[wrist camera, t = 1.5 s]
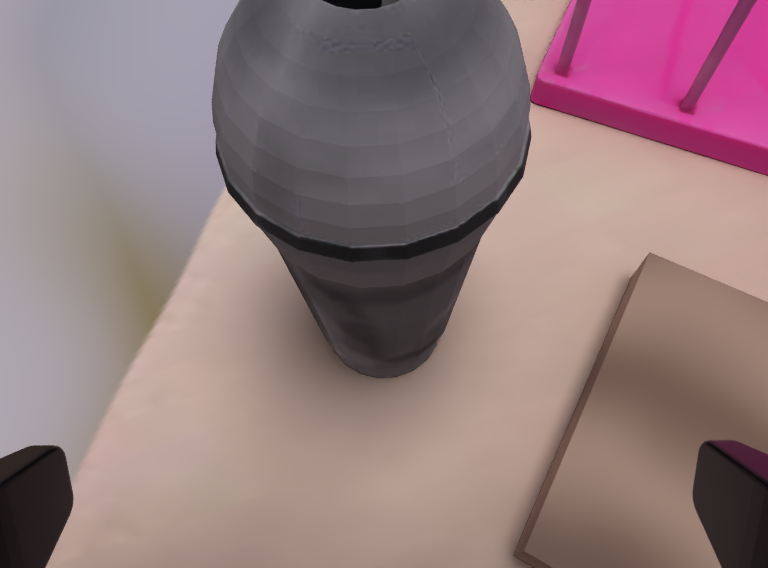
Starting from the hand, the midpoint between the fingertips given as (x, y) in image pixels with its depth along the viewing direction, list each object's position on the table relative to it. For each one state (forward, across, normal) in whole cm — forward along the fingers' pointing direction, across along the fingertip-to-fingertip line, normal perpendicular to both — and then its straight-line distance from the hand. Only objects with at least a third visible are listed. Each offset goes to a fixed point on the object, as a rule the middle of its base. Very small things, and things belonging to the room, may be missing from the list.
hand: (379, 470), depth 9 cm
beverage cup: (+15, 0, +4) cm, 16 cm away
